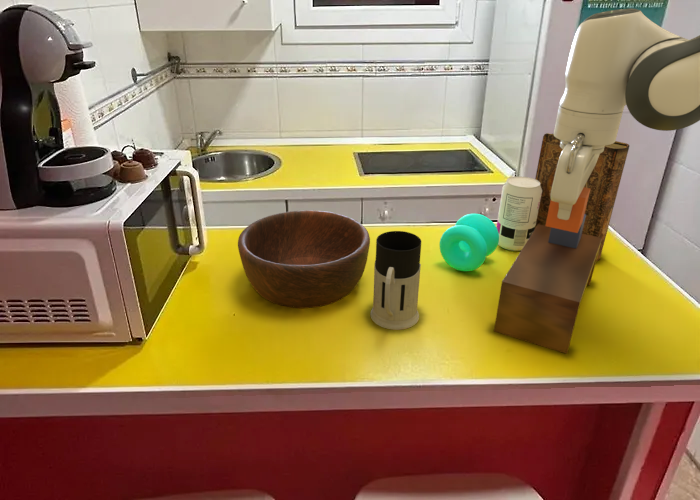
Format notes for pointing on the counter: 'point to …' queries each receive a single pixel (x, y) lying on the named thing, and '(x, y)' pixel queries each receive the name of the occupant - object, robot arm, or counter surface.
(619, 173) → the book
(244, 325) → the counter surface
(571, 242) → the slate-blue box
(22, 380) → the counter surface
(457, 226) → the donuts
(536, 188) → the supplement can
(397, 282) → the glass holder
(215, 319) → the counter surface
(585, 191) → the orange box
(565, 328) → the shelf
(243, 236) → the wooden bowl
